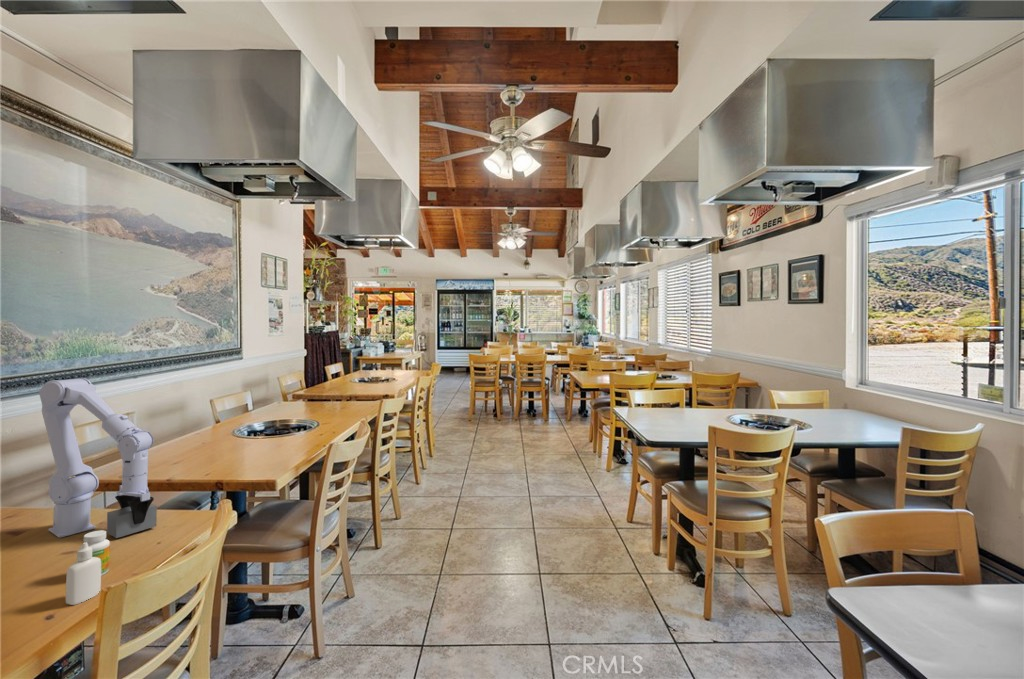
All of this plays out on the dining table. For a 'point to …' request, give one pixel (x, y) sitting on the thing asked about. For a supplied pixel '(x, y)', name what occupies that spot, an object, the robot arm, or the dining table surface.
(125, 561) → the dining table surface
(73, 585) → the eye dropper bottle
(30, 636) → the dining table surface
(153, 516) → the gray block
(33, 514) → the dining table surface
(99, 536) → the supplement bottle
